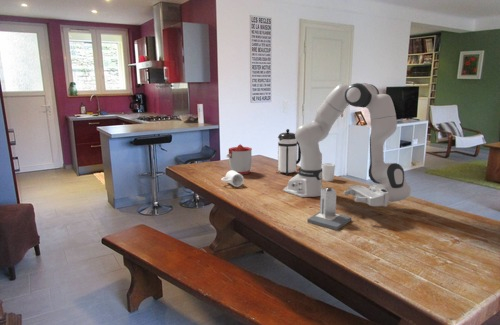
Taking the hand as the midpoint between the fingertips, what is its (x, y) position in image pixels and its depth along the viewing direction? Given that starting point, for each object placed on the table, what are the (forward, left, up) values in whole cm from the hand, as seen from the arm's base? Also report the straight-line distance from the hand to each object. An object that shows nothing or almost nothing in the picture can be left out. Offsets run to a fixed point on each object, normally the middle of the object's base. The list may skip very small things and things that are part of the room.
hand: (349, 196), depth 155 cm
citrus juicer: (-91, +28, -10) cm, 96 cm away
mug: (-76, +4, -10) cm, 77 cm away
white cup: (-36, +50, -10) cm, 62 cm away
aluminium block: (-6, -8, -8) cm, 13 cm away
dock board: (-4, -10, -10) cm, 15 cm away
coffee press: (-66, +50, -10) cm, 83 cm away
